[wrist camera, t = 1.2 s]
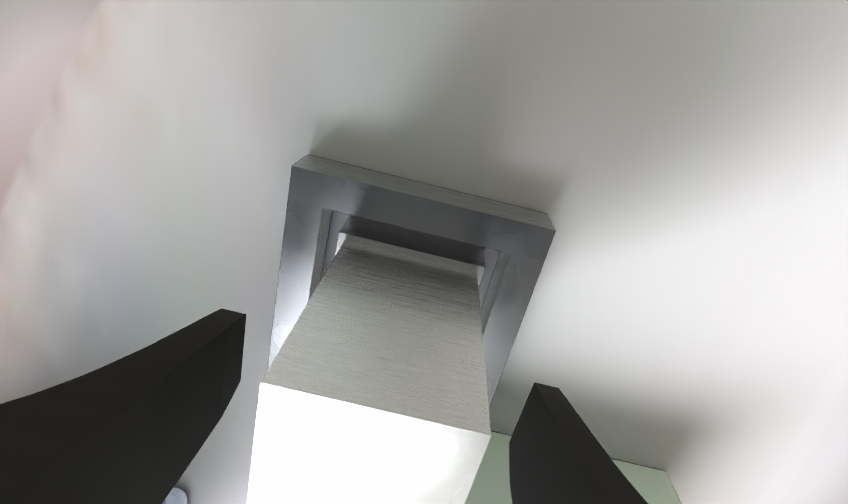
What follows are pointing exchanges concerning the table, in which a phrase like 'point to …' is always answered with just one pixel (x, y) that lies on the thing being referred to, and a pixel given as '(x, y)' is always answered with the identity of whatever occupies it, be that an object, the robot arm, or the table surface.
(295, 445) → the strut
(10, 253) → the table surface
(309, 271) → the socket
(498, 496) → the bin
